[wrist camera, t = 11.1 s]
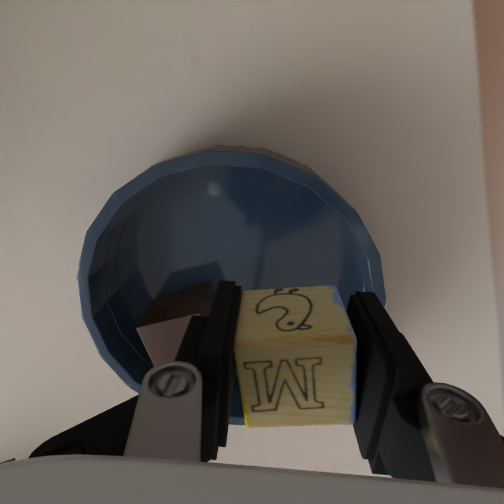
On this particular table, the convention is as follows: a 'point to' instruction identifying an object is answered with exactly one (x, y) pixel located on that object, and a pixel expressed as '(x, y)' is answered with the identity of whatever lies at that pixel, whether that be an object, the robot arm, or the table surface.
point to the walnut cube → (172, 320)
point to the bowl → (215, 243)
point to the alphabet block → (295, 357)
